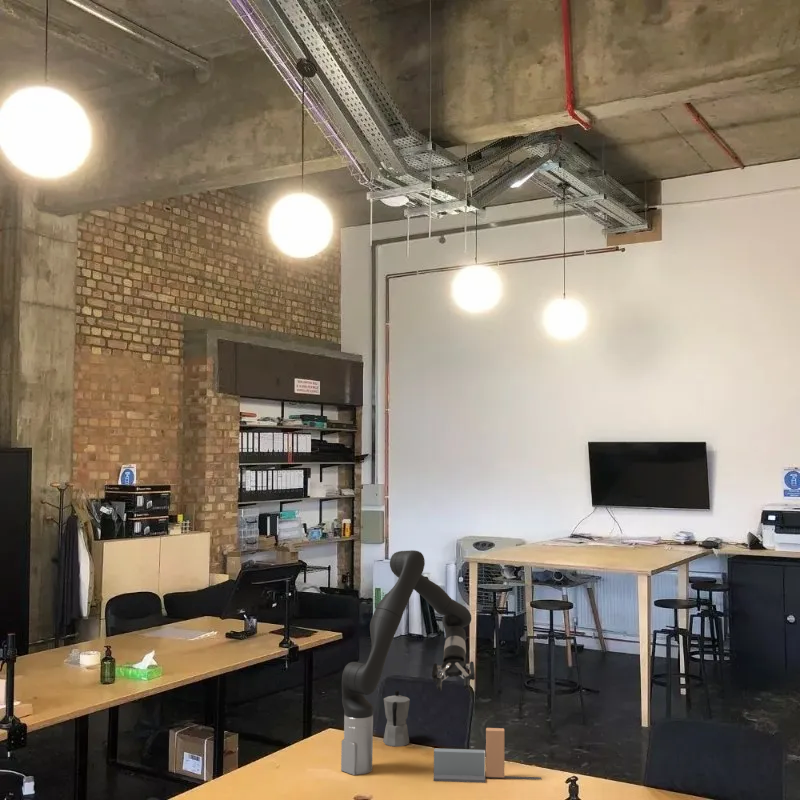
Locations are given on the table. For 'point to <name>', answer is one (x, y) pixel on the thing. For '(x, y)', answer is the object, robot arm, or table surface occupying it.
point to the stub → (494, 752)
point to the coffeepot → (396, 720)
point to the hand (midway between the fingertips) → (452, 688)
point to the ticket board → (462, 766)
